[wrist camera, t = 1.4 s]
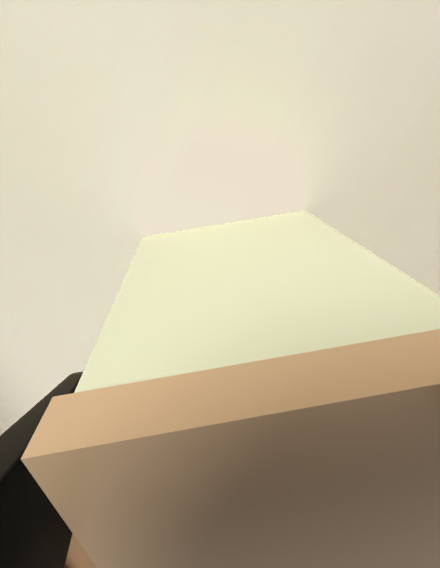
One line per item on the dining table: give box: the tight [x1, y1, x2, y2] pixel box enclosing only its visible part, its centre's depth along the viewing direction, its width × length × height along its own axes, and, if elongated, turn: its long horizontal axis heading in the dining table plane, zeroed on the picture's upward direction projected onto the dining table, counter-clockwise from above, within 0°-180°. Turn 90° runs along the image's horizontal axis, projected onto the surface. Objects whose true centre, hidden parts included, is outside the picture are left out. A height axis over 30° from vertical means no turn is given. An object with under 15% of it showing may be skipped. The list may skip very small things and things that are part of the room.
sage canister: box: [21, 210, 440, 568], centre depth 8 cm, size 6×6×8 cm
